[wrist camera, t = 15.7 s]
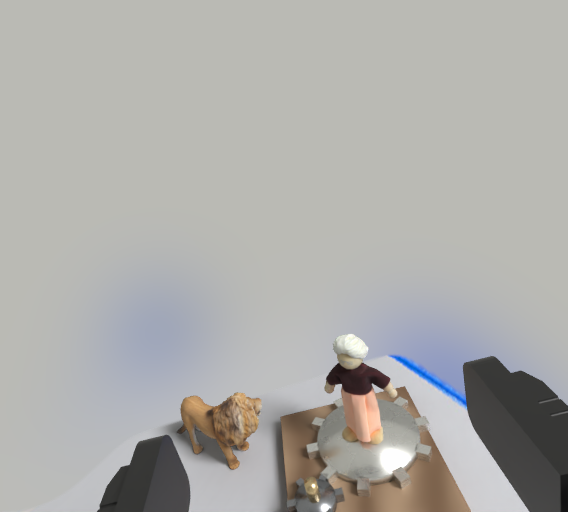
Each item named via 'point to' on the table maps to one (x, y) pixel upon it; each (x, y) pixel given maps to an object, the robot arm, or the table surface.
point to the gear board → (383, 498)
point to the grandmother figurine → (358, 390)
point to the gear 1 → (315, 496)
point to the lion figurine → (222, 422)
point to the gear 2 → (371, 447)
